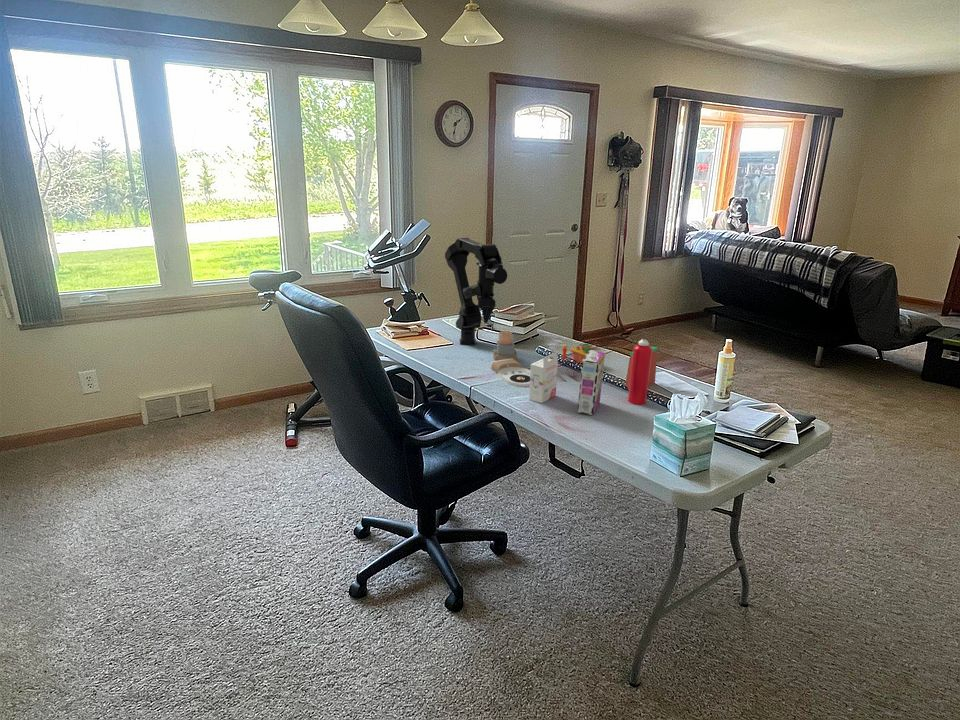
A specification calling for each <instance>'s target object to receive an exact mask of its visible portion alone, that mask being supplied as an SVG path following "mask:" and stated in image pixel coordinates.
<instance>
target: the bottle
mask: <svg viewBox="0 0 960 720" xmlns="http://www.w3.org/2000/svg"><path fill="white" fill-rule="evenodd" d="M651 347H652V346H651V345H650V342H649V341H648V340H647V339H646V338H641V340H639V341H638V344H636V345H635V346H634V347H633V350H632V352H633V358H632V368H631V377H630V386H629V391H628V395H627V402H628V403H630V404H632V405H637V406H639V405H640V406H643V405H646V403H647V398H648V389H649V386H648V382H649V374H650V365H651V357H652V348H651Z"/></svg>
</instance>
